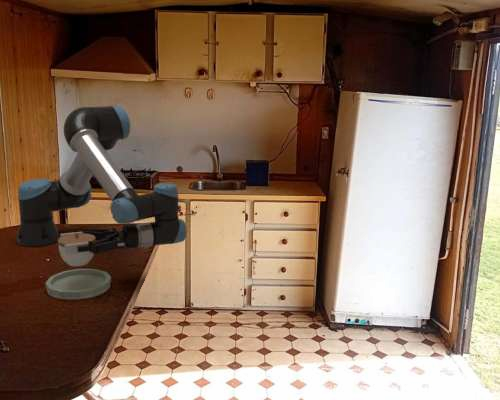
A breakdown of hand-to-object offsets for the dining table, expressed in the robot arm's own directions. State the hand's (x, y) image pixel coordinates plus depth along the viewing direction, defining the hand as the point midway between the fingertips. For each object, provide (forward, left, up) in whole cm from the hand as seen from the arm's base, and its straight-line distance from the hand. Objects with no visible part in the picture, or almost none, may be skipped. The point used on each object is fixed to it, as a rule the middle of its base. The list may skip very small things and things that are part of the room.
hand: (62, 243), depth 156 cm
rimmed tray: (-2, +4, -14) cm, 15 cm away
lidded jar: (-2, +4, -7) cm, 8 cm away
